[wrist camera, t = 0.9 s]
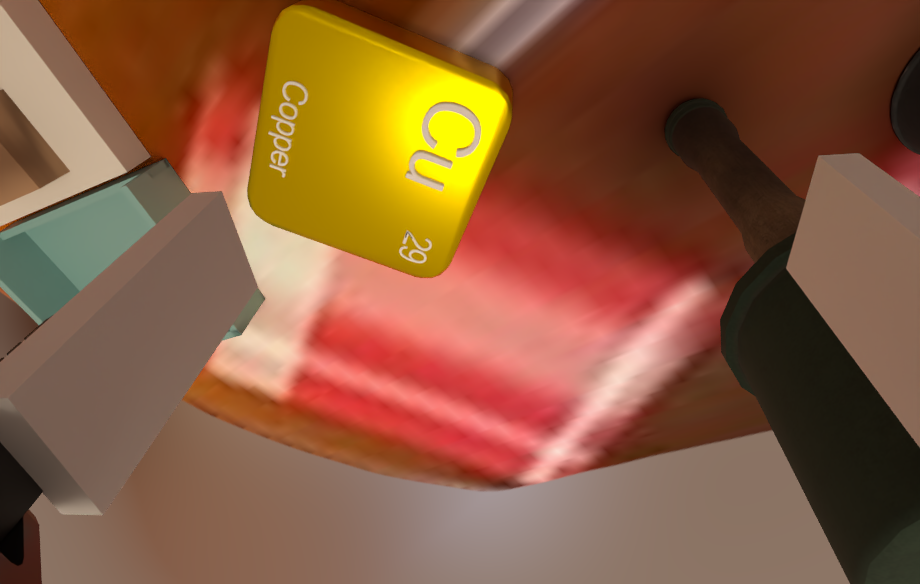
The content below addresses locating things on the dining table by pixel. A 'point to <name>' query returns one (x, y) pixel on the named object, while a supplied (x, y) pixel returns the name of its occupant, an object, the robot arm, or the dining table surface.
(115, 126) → the board
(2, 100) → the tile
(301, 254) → the dining table surface
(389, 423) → the dining table surface
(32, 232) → the tray
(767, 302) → the stick grenade
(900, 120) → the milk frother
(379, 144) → the element tile
